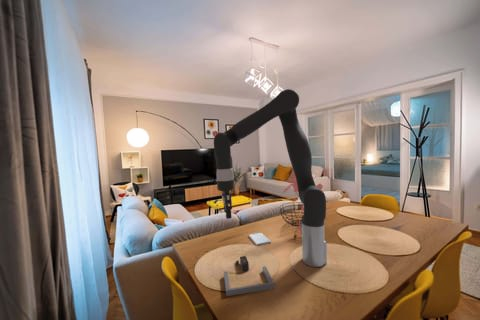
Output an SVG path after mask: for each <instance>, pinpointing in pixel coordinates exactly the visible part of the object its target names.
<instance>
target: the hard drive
mask: <svg viewBox="0 0 480 320" xmlns="http://www.w3.org/2000/svg"><path fill="white" fill-rule="evenodd" d="M248 238H249V239H250V240H251V241H252V242H253V244H254V245H255V246H256V247H259V246H265V245H269V244H271V243H272V241H271V240H270V239H269V238H268V237H267V236H266V235H265V234H263V233H262V232H257V233H251V234H248Z"/></svg>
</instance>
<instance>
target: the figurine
mask: <svg viewBox="0 0 480 320" xmlns="http://www.w3.org/2000/svg"><path fill="white" fill-rule="evenodd" d="M292 182H293V183H291V184H289V185H288V186H287V187H286V188H285V189H284V191H282V194H284V193H286V192H287V191H288V190H290V188H291V187H293V192H294V193H296V196H297V197H298V198H299V193H298V186H297V180H296V177H294V178H293V179H292ZM316 187H317V188H318V189H320V190H322V189H323V184H321V183H318V184H317V185H316ZM300 209H301V210H300V212H299V215H298V224H299V225H298V226H296V228H298V229H297V230H296V232H294V234H295V235H296V234H297V233H298V232H299V231H300V232H301V234H302V225H301V222H300V221H301V220H300V219H301V213H302V212H304V204H303V203H302V206H301V207H300ZM293 228H294V227H293V226H291V229H293Z"/></svg>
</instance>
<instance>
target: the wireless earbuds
mask: <svg viewBox="0 0 480 320" xmlns="http://www.w3.org/2000/svg"><path fill="white" fill-rule="evenodd" d="M249 263H250V262H249V259H247V256H246V255H243V256H240V257H239V260H236V261H235V265H240V267H241V269H242V271H243V272H248V271H249V269H250V264H249ZM247 270H248V271H247Z"/></svg>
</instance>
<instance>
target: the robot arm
mask: <svg viewBox="0 0 480 320" xmlns="http://www.w3.org/2000/svg"><path fill="white" fill-rule="evenodd" d="M299 103H300V95H299V93H298V92H297V91H295V90H294V89H291V88H290V89H289V88H288V89H283V90H281V91H280V92H279V93H278V94H277V95H276V96H275V97H274V98H273V99H272V100H270V101H269V102H268V103H267V104H265V105H264V106H262V107H261V108H259V109H258V110H256V111H254V112H253V113H251V114H249V115H248V116H246V117H244V118H243V119H241V120H239V121H238V122H236V123H235V124H233V125H232V127H230V128H229V129H227V130H226V131H224V132H218V133H216V135H214V138H213V149H214V154H215V160H216V161H215V163H216V186H217V187H216V189H217V190H218V191H220V192H222V193H221V198H222V199H221V200H222V204H223V212H224V213H225V218H226V219H227V220H229V219H232V209H233V203H232V202H233V200H232V197H233V196H232V193H231V192H230V191H233V190H234V189H235V174H234V168H233V166H234V165H233V157H232V154H231V153H232V152H231V147H232V146H233V145H234V144H236V143H238V142H239V141H240V140H242V139H244V138H246V137H248V136H249V135H251V134H253V133H254V132H256V131H257V130H259V129H260V128H261V127H263V126H264V125H266V124H267V123H268V122H270V121H271V120H273V119H275V118H277V117H278V119H279V121H280V123H281V127H282V131H283V137H284V141H285V146H286V150H287V154H288V157H289V161H290V164H291V167H292V171H293V173H294V176H295V178H296V180H297V186H298V192H297V193H298V195H299V197H298V198H299V201H300V202H301V203H302V205H303V204H304V211H303V214H302V215H301V230H302V233H301V241H302V242H301V243H302V244H301V247H302V250H301V251H302V254H301V257H302V262H303V263H304V264H305V265H307V266H309V267H313V268H319V267H321V268H322V267H323V266H325V265H326V264H327V263H328V257H327V256H328V254H327V253H328V252H327V251H328V249H327V247H328V246H327V241H326V240H325V219H326V217H327V196H326V193H324V191H323V190H322V189H321V190H320V189H318V188H317V187H316V186H317V185H316V183H315V180H314V177H313V172H312V171H313V170H312V168H313V167H312V166H313V165H312V164H313V163H312V159H313V157H312V151H311V147H310V143H309V141H308V138H307V136H306V134H305V132H304V130H303V128H302V127H301V125H300V122H299V119H298V113H297V108H298V106H299Z"/></svg>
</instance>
